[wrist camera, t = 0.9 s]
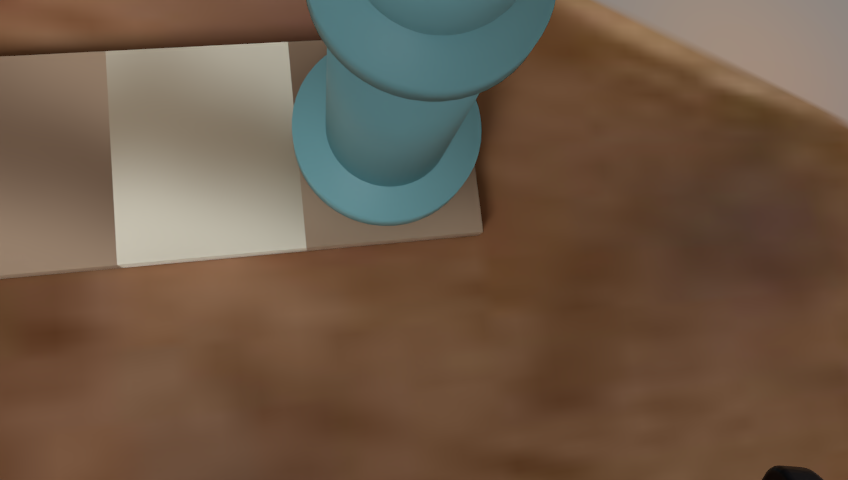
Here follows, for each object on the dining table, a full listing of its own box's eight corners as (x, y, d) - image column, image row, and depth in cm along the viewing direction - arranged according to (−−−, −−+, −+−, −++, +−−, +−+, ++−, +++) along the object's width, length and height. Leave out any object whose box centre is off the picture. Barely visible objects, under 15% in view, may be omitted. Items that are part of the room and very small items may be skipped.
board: (478, 235, 22) (482, 231, 22) (-288, 305, 20) (-306, 303, 19) (454, 41, 23) (458, 32, 23) (-282, 80, 20) (-300, 72, 20)
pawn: (484, 217, 22) (677, 46, 10) (301, 233, 21) (275, 69, 9) (463, 45, 23) (618, -302, 11) (285, 55, 22) (244, -308, 10)
